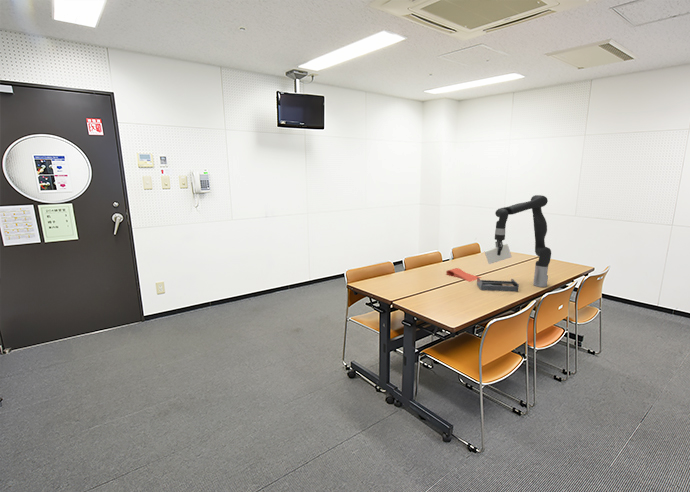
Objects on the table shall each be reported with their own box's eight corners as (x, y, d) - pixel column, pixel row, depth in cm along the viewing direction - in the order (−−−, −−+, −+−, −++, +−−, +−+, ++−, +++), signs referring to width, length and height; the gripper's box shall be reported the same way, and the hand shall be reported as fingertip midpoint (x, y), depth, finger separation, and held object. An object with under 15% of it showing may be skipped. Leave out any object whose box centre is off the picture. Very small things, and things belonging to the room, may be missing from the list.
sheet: (442, 275, 318) (456, 271, 334) (471, 286, 296) (486, 281, 312) (442, 270, 317) (457, 265, 332) (472, 280, 295) (487, 275, 310)
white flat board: (510, 256, 281) (506, 243, 280) (511, 257, 279) (507, 244, 278) (488, 263, 285) (484, 251, 284) (489, 264, 283) (485, 251, 281)
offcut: (512, 286, 279) (512, 284, 279) (513, 288, 275) (514, 286, 275) (501, 286, 281) (501, 283, 280) (503, 288, 276) (503, 285, 276)
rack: (511, 285, 288) (512, 278, 287) (518, 291, 273) (518, 284, 272) (476, 284, 292) (477, 277, 291) (481, 290, 277) (481, 282, 276)
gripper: (507, 235, 271) (505, 256, 274) (502, 232, 284) (500, 253, 288) (497, 235, 272) (495, 256, 275) (492, 232, 285) (491, 252, 289)
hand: (498, 254), depth 281 cm, fingers closed on white flat board, 2 cm apart
